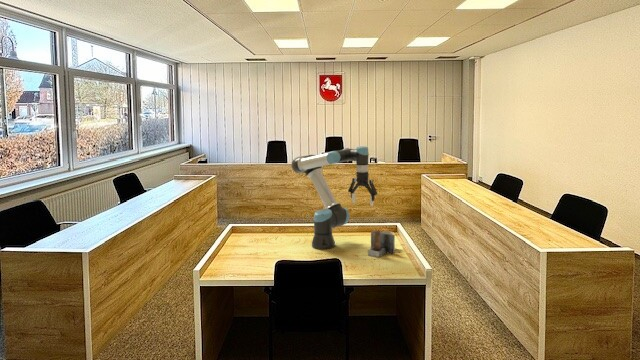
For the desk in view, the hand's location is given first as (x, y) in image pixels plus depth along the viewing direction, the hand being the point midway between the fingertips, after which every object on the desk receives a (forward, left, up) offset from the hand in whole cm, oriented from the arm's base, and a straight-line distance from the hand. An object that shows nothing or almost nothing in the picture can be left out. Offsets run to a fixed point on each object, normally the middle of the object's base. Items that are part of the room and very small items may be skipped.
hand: (362, 204), depth 335 cm
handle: (+14, -6, -28) cm, 32 cm away
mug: (+10, +8, -29) cm, 32 cm away
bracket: (+14, -4, -29) cm, 32 cm away
